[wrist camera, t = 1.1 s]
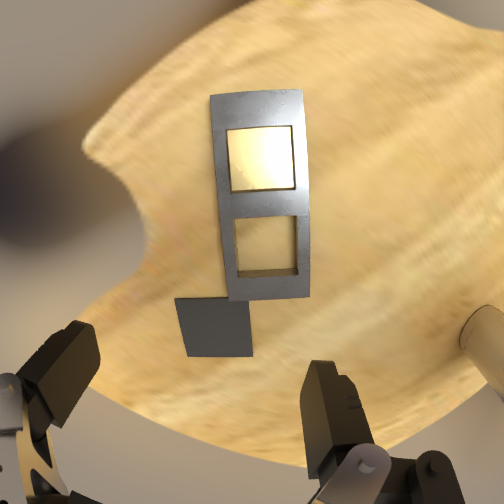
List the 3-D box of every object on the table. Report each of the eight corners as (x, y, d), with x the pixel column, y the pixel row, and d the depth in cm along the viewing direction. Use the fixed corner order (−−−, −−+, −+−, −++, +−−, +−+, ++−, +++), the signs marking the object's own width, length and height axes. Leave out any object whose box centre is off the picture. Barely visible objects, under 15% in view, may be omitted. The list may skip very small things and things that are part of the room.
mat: (248, 296, 33) (247, 297, 33) (253, 354, 36) (252, 356, 35) (175, 298, 33) (174, 299, 33) (188, 354, 36) (187, 356, 36)
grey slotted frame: (299, 93, 25) (302, 89, 24) (307, 289, 32) (309, 297, 30) (213, 99, 26) (210, 95, 24) (230, 293, 33) (228, 301, 31)
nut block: (281, 136, 27) (289, 126, 19) (284, 179, 29) (293, 187, 20) (237, 139, 27) (227, 130, 19) (241, 181, 29) (232, 190, 20)
